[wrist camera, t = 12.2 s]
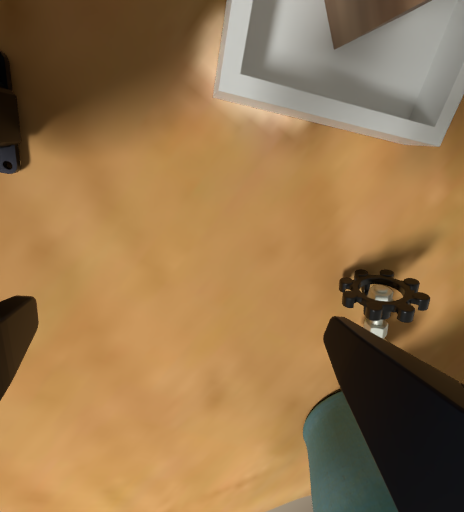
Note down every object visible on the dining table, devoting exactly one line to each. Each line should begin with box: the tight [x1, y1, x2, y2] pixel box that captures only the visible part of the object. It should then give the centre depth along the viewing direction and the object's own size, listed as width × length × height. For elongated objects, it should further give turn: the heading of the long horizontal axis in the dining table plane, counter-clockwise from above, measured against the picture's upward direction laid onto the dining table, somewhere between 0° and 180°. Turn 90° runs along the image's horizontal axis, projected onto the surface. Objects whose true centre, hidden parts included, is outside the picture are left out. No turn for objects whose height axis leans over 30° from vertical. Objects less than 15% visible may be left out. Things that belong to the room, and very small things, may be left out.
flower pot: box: [303, 391, 398, 512], centre depth 27 cm, size 18×18×17 cm
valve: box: [339, 269, 430, 341], centre depth 25 cm, size 7×7×12 cm
